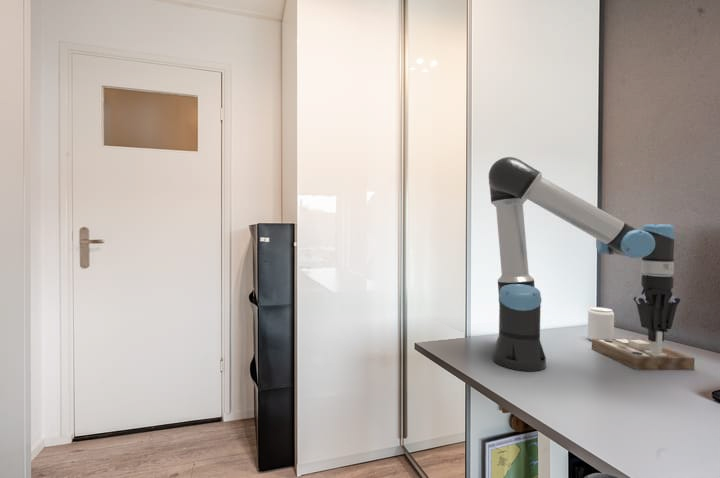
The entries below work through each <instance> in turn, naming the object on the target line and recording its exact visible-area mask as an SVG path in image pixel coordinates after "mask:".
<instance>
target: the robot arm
mask: <svg viewBox="0 0 720 478" xmlns="http://www.w3.org/2000/svg"><path fill="white" fill-rule="evenodd" d="M488 185H489V193H490V204H491V205H493V206H494V207H495V210H496V222H497V233H498V245H499V257H500V258H499V259H500V269H501V270H500V271H501V276H500V277H499V278H498V279H497V287H498V288H497V289H498V303H499V305H498V307H499V308H498V309H499V310H498V311H499V312H498V313H499V315H498V316H499V317H498V336H497V340H496V341H495V342H496V343H495V345H494V347H493V350H492V361H493V362H495V364H497V365H499V366H502V367H504V368H508V369H511V370H517V371H522V372H523V371H525V372H536V371H537V372H538V371H542V370H544V369H546V368H547V358H546V355H545V351H544V348H543V345H542V342H541V308H542V305H541V304H542V296H541V291H540V290H539V289H538V288H537V287H535V279H534V278H533V276H531V275H530V273H529V262H528V251H527V239H526V237H527V236H526V227H525V218H524V217H525V213H524V204H525V202H526V201H530V202H531V203H534V204H536V205H537V206H539V207H540V208H542V209H544V210H546V211H547V212H549V213H551V214H553V215H555V216H557V217H558V218H560V219H562V220H563V221H565V222H567V223H569V224H570V225H572V226H574V227H576V228H578V229H580V230H581V231H582V232H584V233H586V234H588V235H589V236H591V237H592V238H595V239H596V240H595V245H596V247H595V248H596V251H597V253H599V254H601V255H608V256H610V255H613V256H615V255H617V256H618V255H619V256H623V257H628V258H631V259H636V258H637V259H638V258H639V259H640V258H641V273H642V275H641V286H642V291H641V295H639V296H634V298H633V301H634V302H635V304H636V306H637V307H636V308H637V311H638V316H639V321H640V325H641V328H643V329H646V330H647V332H648V333H647V337H648V338H647V339H648V340H647V341H649V342H650V351H652V352H655V353H662V346H663V342H665V341H664V340H665V333H667V332H669V330H671V329H672V327H673V323H674V319H675V315H676V311H677V308H678V305H679V304H680V302H681V299H680V298H678V297H676V296H674V294H673V292H672V289H674V283H675V282H674V281H675V280H674V277H673V275H674V268H675V262H674V261H675V259H674V257H675V241H676V235H675V227H674V226H673V225H672V224H668V223H667V224H663V223H661V224H659V223H658V224H651V223H650V224H644V225H643V226H642V229H638V228H635V227H633V226H631V225H629V224H628V223H626V222H624V221H622V220H621V219H619V218H617V217H615V216H613V215H611V214H610V213H608V212H606V211H605V210H602V209H601V208H599V207H597V206H596V205H593V204H592V203H590V202H588V201H586V200H584V199H583V198H580V197H579V196H577V195H575V194H573V193H572V192H570V191H568V190H567V189H564V188H563V187H560V186H559V185H557V184H555V183H553V182H551V181H550V180H548V179H546V178H545V177H543V175H542V172H541V171H539V170H537V169H536V168H535V167H533V166H531V165H529V164H527V163H526V162H524V161H523V160H521V159H519V158H517V157H512V156H506V157H502V158H499V159H498V160H496V161H495V162H494V163H493V164H492V165H491V167H490V169H489V172H488Z"/></svg>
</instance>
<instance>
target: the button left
mask: <svg viewBox="0 0 720 478" xmlns="http://www.w3.org/2000/svg"><path fill="white" fill-rule="evenodd" d="M614 339H615V341H617V342H619V343H622V344H628V340H627V339H628V338H614Z"/></svg>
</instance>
